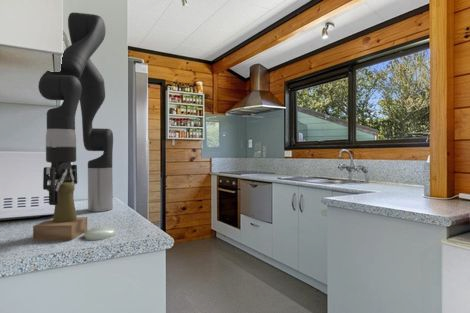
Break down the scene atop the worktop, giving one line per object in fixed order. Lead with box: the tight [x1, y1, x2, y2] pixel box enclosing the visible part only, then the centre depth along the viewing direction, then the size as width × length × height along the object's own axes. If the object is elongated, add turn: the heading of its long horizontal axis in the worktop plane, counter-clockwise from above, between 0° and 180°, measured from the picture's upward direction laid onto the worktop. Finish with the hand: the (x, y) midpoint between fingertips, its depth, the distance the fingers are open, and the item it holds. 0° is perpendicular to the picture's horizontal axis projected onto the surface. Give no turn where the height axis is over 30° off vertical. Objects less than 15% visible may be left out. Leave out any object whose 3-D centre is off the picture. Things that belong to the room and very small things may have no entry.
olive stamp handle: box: [52, 182, 77, 223], centre depth 87 cm, size 6×6×11 cm
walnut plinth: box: [32, 216, 88, 242], centre depth 86 cm, size 10×10×4 cm
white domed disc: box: [83, 226, 116, 241], centre depth 86 cm, size 8×8×2 cm
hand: (61, 202), depth 86 cm, fingers open, 8 cm apart
